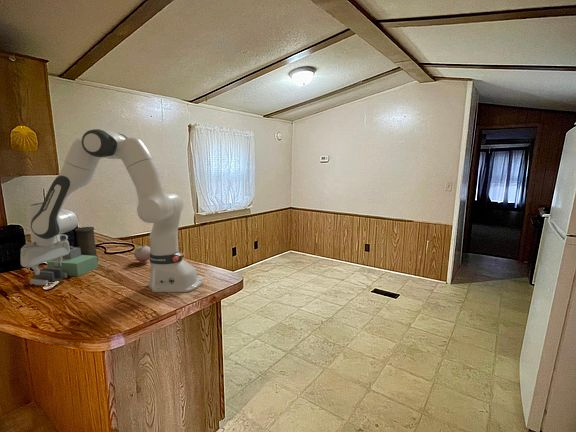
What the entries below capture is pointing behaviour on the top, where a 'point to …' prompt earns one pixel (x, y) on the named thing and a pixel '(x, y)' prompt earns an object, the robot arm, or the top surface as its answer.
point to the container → (86, 241)
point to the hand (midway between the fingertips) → (48, 270)
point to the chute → (50, 274)
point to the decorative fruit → (142, 253)
